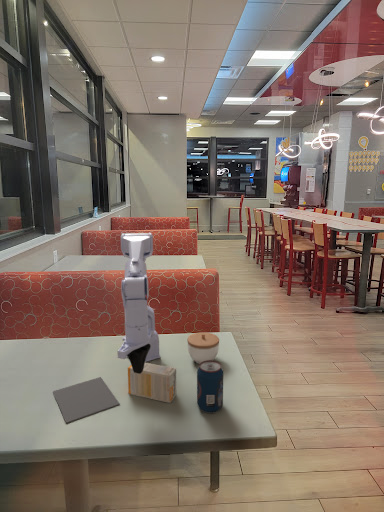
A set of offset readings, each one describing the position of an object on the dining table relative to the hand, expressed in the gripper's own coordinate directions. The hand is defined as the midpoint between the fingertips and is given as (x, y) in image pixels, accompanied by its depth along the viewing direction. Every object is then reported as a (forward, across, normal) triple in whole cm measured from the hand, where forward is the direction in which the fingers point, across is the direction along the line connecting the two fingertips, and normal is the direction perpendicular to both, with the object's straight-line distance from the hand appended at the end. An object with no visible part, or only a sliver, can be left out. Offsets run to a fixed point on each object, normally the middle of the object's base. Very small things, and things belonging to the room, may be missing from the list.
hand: (138, 371), depth 90 cm
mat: (+10, +2, -16) cm, 19 cm away
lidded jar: (+11, -31, +6) cm, 33 cm away
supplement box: (+6, -6, -6) cm, 11 cm away
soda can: (+10, -8, +17) cm, 22 cm away
